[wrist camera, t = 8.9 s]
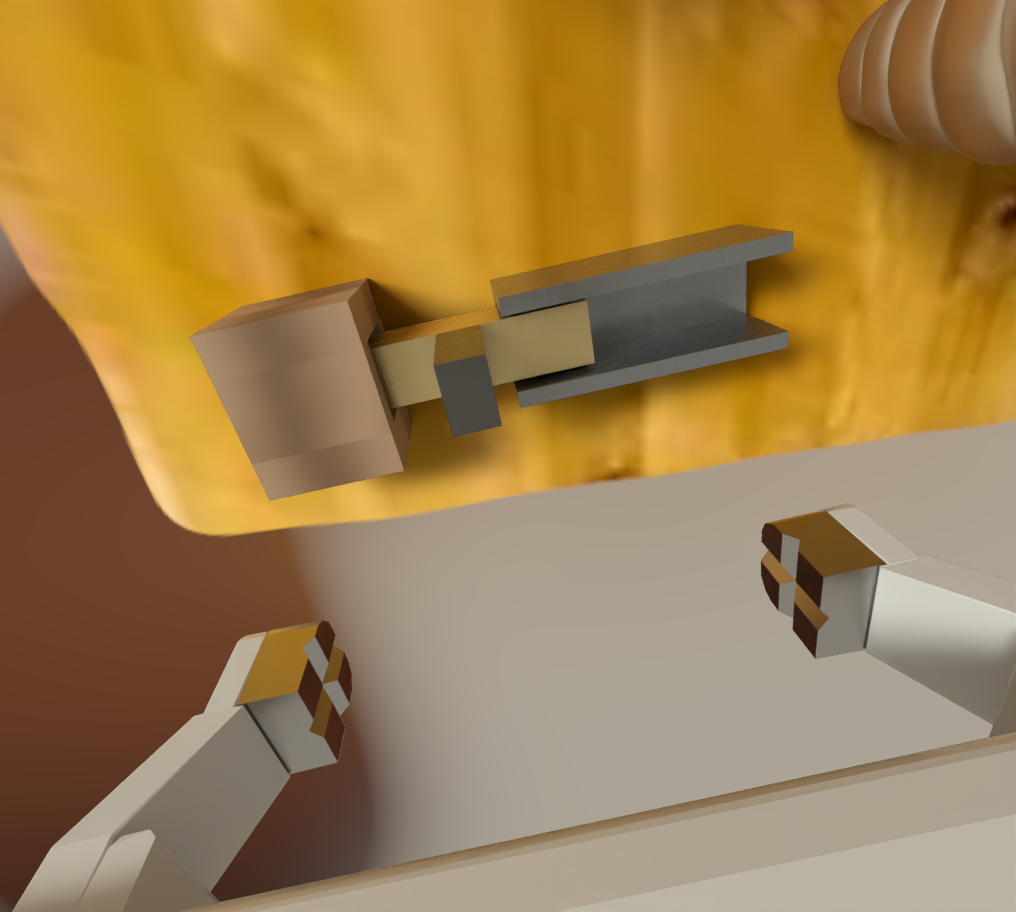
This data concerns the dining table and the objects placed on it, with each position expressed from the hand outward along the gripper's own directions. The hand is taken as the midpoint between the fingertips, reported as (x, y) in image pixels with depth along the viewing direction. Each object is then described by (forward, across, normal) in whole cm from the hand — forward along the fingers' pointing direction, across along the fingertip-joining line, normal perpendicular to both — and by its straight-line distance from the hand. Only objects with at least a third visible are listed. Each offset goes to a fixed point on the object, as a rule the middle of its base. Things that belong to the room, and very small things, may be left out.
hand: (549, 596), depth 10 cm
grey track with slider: (+21, -7, 0) cm, 22 cm away
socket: (+21, +9, 0) cm, 23 cm away
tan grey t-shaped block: (+20, +2, 0) cm, 20 cm away
